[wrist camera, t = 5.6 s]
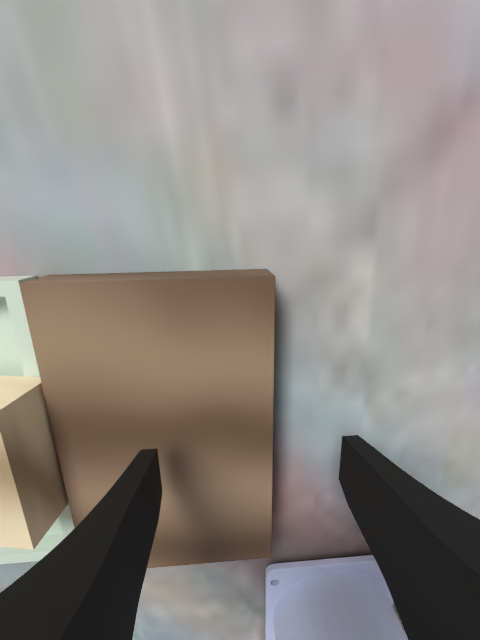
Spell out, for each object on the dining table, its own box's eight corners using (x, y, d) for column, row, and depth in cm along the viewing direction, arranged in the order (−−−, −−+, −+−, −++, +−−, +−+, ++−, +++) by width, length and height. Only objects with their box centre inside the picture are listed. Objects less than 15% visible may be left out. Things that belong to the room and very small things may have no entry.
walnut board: (265, 520, 17) (271, 557, 15) (99, 534, 17) (84, 573, 15) (266, 269, 13) (275, 276, 11) (48, 275, 13) (18, 283, 11)
